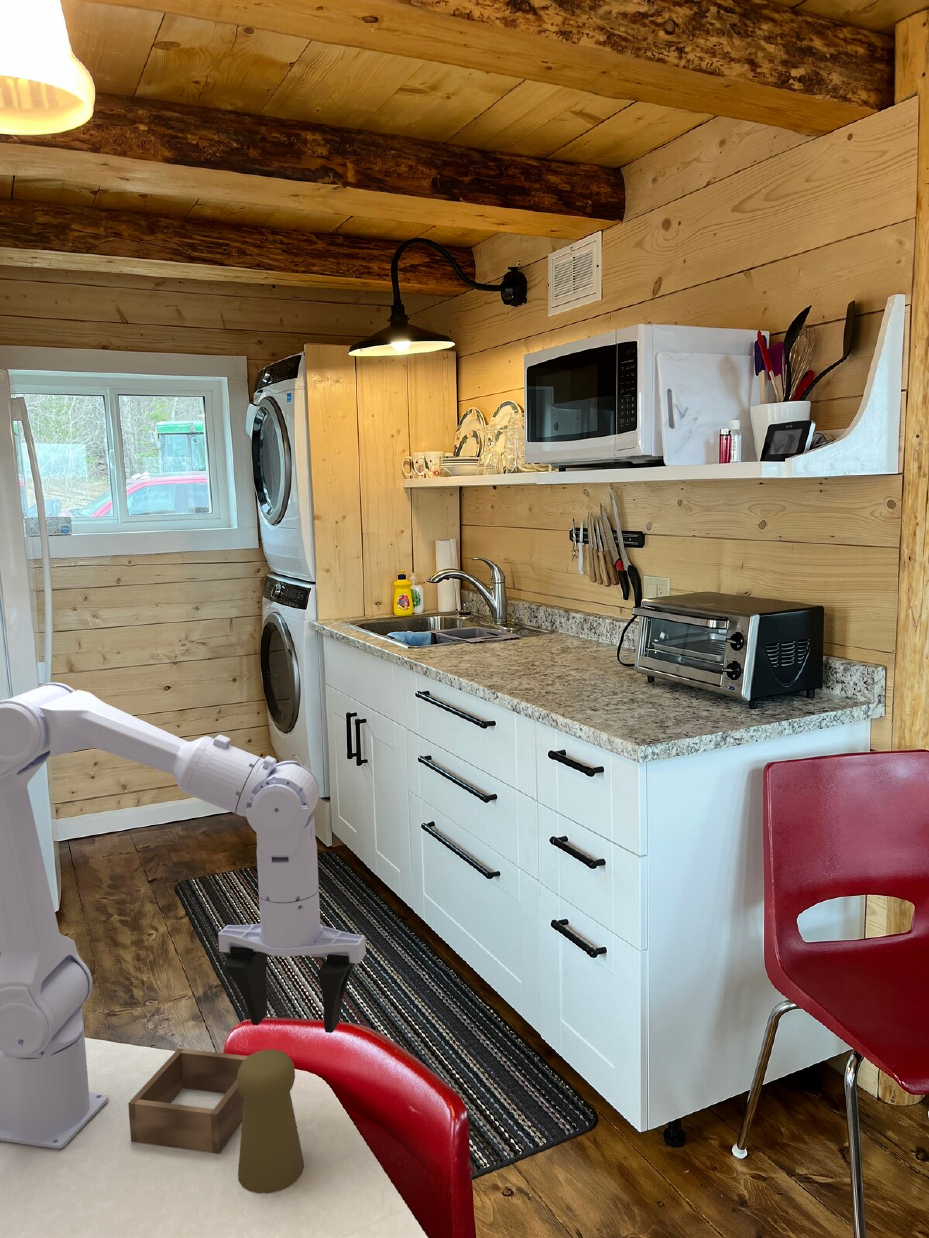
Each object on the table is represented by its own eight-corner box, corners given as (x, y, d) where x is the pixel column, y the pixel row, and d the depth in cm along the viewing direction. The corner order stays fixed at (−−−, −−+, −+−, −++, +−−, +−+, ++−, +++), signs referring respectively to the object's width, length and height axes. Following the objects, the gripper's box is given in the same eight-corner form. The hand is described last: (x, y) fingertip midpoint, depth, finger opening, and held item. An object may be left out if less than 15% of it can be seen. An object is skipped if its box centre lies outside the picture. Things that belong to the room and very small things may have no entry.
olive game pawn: (289, 1197, 83) (283, 1081, 82) (226, 1188, 84) (219, 1074, 83) (313, 1151, 89) (308, 1042, 88) (254, 1144, 90) (248, 1036, 89)
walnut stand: (131, 1141, 91) (128, 1102, 91) (180, 1083, 100) (178, 1048, 100) (219, 1153, 89) (217, 1114, 89) (262, 1093, 98) (260, 1057, 98)
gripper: (373, 879, 93) (378, 1008, 95) (238, 870, 96) (245, 995, 98) (349, 909, 86) (355, 1048, 88) (205, 898, 89) (213, 1033, 91)
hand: (295, 1023), depth 92 cm, fingers open, 7 cm apart
